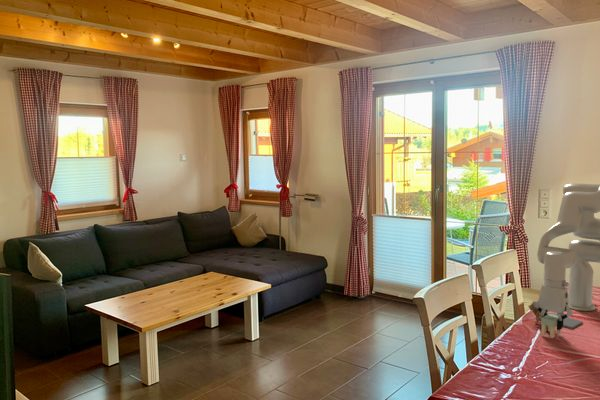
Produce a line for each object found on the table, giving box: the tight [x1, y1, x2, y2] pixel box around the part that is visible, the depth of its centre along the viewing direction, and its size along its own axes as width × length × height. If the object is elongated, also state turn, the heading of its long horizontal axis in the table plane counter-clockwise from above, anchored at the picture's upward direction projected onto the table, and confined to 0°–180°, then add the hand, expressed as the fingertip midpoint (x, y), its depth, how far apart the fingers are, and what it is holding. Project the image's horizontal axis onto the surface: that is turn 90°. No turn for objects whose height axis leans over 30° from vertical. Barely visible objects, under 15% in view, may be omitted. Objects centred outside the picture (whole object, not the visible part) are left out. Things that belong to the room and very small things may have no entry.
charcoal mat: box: [539, 312, 584, 330], centre depth 206 cm, size 10×14×1 cm
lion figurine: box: [527, 300, 551, 332], centre depth 201 cm, size 15×5×9 cm, turn 10°
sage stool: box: [540, 314, 562, 339], centre depth 191 cm, size 7×5×7 cm
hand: (552, 326), depth 192 cm, fingers closed on sage stool, 5 cm apart
